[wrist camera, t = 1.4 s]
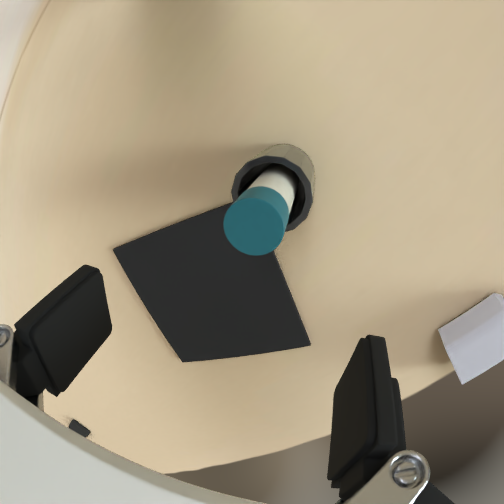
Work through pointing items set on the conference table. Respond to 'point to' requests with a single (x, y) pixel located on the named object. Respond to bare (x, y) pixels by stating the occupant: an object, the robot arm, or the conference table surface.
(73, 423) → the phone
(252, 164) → the pen cup
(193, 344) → the mat
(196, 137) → the conference table surface
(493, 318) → the charger
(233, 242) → the marker
